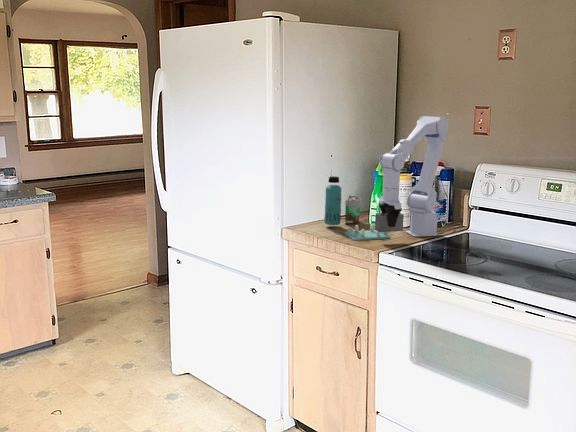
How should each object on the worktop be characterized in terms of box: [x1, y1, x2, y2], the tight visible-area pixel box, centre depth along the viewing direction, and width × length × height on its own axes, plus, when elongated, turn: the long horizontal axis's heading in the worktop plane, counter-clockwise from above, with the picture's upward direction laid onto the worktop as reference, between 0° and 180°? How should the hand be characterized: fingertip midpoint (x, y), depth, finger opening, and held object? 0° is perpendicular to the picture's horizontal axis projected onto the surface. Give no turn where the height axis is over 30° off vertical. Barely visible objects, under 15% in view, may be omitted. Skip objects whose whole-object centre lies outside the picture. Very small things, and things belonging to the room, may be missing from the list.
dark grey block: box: [374, 212, 405, 233], centre depth 218 cm, size 9×4×6 cm, turn 103°
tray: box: [344, 224, 391, 241], centre depth 227 cm, size 14×10×3 cm
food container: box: [344, 195, 363, 226], centre depth 248 cm, size 12×6×10 cm, turn 168°
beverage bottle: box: [323, 175, 342, 226], centre depth 238 cm, size 6×7×20 cm
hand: (389, 225), depth 218 cm, fingers closed on dark grey block, 4 cm apart
